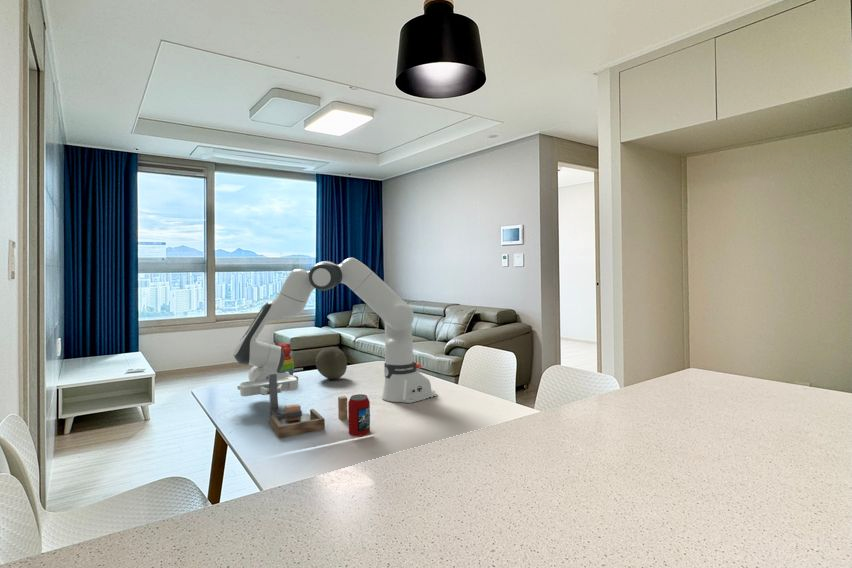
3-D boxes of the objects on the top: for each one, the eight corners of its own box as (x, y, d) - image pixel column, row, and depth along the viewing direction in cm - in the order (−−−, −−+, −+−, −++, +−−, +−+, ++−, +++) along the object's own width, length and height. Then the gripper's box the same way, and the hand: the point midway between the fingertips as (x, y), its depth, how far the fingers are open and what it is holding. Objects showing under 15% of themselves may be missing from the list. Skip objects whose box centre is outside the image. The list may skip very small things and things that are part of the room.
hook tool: (293, 410, 167) (291, 371, 168) (301, 416, 156) (299, 374, 157) (270, 414, 164) (268, 374, 165) (276, 420, 152) (274, 377, 153)
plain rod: (345, 418, 162) (344, 395, 162) (347, 420, 160) (347, 397, 159) (338, 419, 161) (338, 397, 160) (340, 421, 159) (340, 398, 158)
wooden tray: (308, 415, 166) (308, 403, 166) (324, 431, 150) (324, 418, 149) (266, 422, 159) (266, 410, 158) (279, 440, 142) (278, 427, 142)
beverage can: (366, 438, 143) (365, 400, 143) (345, 437, 145) (344, 399, 144) (372, 430, 150) (372, 394, 149) (353, 429, 151) (352, 393, 151)
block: (298, 417, 162) (297, 404, 162) (301, 419, 158) (300, 405, 158) (285, 419, 160) (284, 406, 160) (287, 421, 156) (286, 407, 156)
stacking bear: (299, 379, 217) (298, 341, 217) (291, 384, 207) (290, 345, 207) (277, 378, 219) (276, 341, 218) (268, 384, 208) (267, 345, 208)
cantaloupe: (332, 374, 226) (332, 343, 225) (353, 378, 218) (353, 346, 217) (309, 380, 215) (309, 348, 214) (331, 385, 206) (330, 351, 206)
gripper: (236, 377, 170) (242, 386, 158) (292, 371, 180) (302, 378, 168) (236, 394, 170) (242, 404, 158) (292, 387, 180) (302, 395, 168)
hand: (273, 391), depth 163 cm, fingers closed on hook tool, 2 cm apart
